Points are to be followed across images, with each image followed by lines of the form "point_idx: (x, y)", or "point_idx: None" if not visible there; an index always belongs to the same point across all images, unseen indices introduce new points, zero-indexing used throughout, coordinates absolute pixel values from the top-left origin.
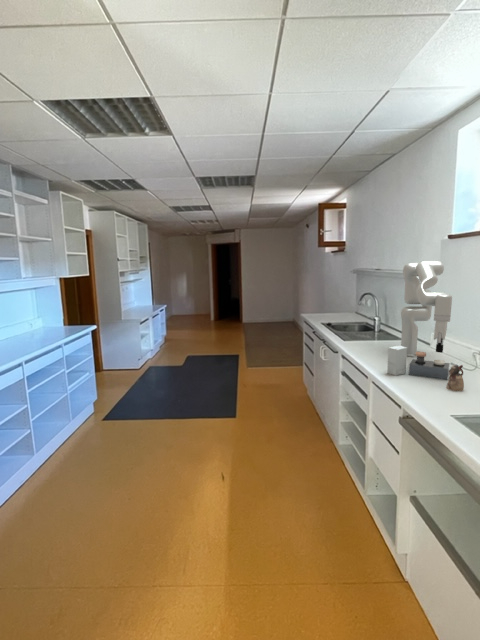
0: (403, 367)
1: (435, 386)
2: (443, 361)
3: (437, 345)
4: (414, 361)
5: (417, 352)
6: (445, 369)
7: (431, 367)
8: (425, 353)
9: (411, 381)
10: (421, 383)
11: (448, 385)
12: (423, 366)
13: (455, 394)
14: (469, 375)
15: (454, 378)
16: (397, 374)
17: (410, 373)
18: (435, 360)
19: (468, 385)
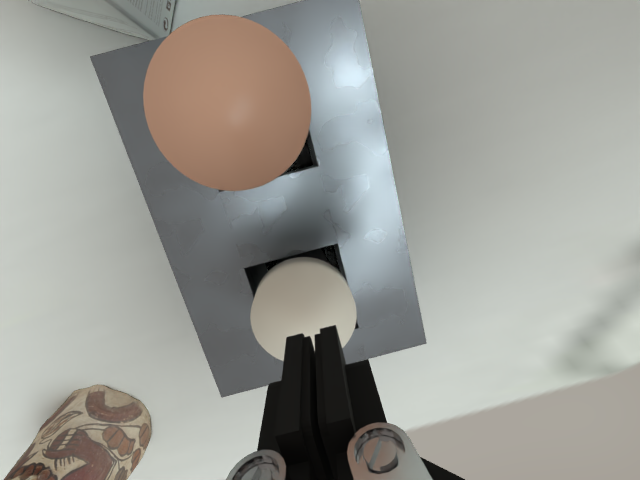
0: (92, 8)
1: (46, 337)
2: None
3: (284, 443)
4: None
5: (193, 57)
6: (217, 376)
7: (177, 275)
8: (228, 190)
9: (4, 176)
10: (25, 249)
11: (44, 423)
12: (151, 205)
13: (4, 459)
14: (447, 395)
15: None
16: (45, 7)
17: None
18: (295, 282)
19: (231, 452)
